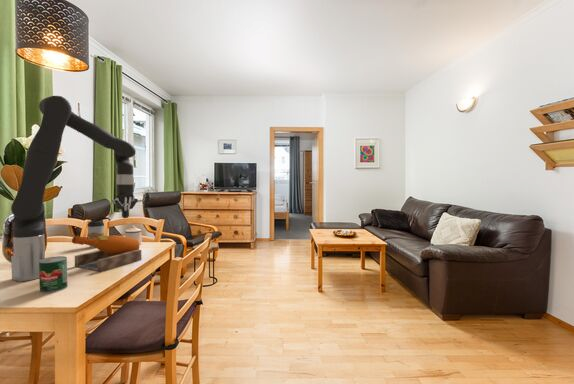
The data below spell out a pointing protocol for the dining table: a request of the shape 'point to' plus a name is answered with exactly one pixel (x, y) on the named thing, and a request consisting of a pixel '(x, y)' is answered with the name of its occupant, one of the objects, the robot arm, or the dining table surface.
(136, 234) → the teacup with lid
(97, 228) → the coffee cup
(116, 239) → the wine bottle
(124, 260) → the u rest
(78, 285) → the dining table surface
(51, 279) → the canned tomato
